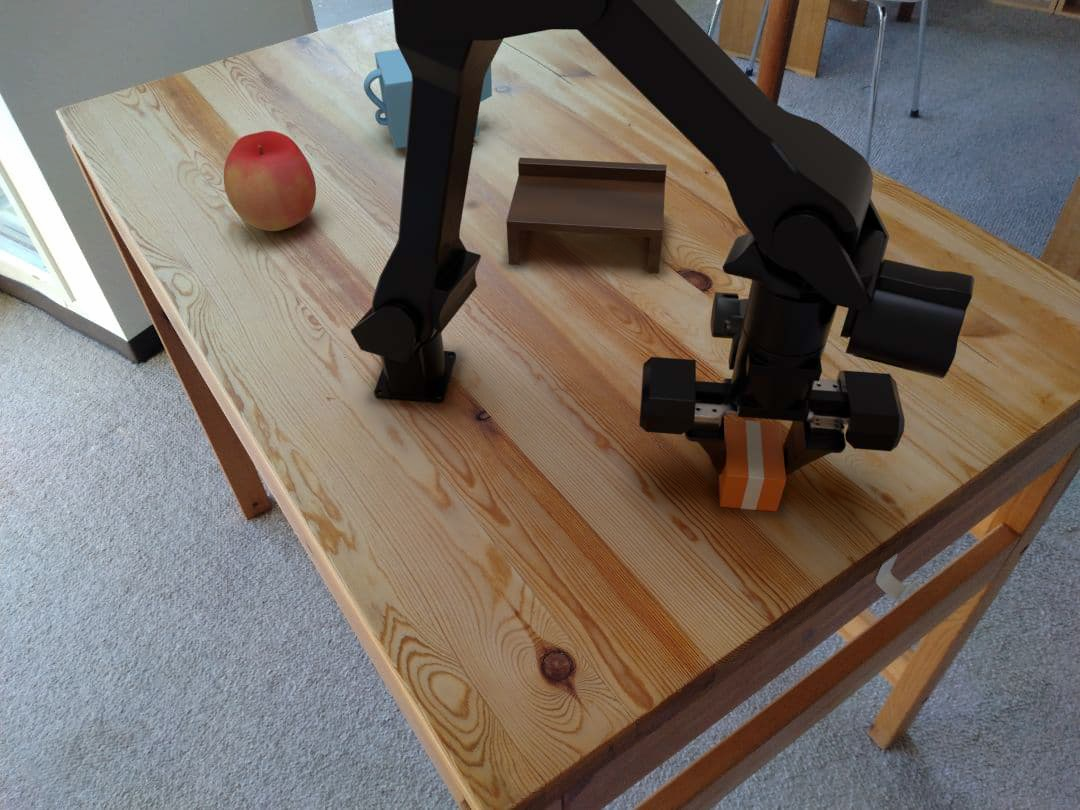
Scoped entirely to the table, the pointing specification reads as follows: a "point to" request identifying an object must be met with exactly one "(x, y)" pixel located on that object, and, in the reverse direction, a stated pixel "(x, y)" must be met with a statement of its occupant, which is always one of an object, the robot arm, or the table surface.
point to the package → (752, 465)
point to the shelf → (588, 202)
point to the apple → (269, 181)
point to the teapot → (400, 93)
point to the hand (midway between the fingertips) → (748, 472)
